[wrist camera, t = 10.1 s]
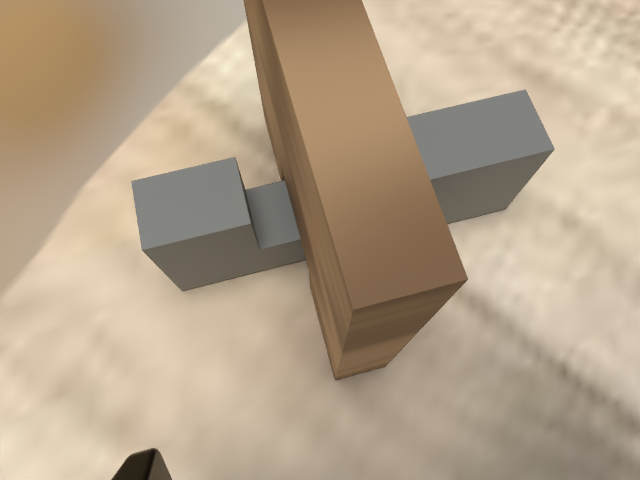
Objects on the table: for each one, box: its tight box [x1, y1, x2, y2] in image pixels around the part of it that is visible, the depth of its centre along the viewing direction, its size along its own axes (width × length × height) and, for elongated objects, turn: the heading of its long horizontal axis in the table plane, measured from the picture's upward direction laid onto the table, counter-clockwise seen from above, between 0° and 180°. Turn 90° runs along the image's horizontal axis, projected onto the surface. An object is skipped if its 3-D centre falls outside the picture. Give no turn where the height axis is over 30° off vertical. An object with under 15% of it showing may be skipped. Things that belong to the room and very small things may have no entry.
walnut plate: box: [244, 0, 468, 380], centre depth 16 cm, size 12×2×12 cm, turn 15°
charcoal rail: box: [131, 90, 554, 291], centre depth 20 cm, size 14×2×5 cm, turn 105°
